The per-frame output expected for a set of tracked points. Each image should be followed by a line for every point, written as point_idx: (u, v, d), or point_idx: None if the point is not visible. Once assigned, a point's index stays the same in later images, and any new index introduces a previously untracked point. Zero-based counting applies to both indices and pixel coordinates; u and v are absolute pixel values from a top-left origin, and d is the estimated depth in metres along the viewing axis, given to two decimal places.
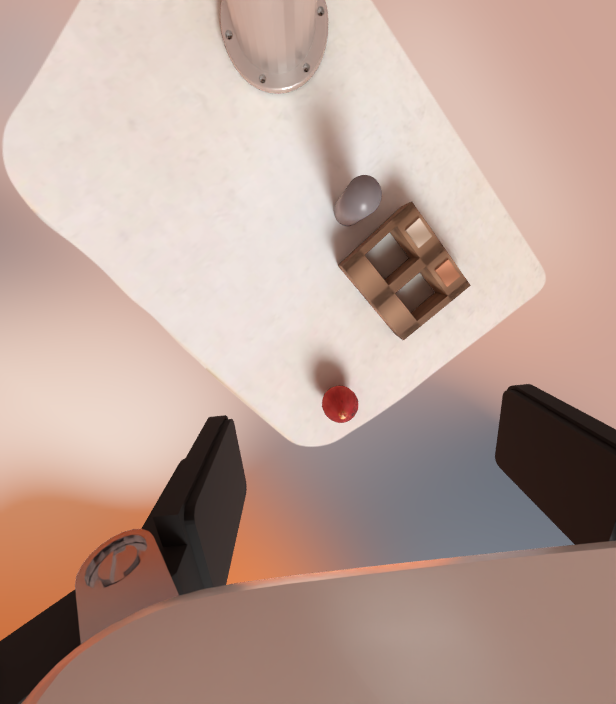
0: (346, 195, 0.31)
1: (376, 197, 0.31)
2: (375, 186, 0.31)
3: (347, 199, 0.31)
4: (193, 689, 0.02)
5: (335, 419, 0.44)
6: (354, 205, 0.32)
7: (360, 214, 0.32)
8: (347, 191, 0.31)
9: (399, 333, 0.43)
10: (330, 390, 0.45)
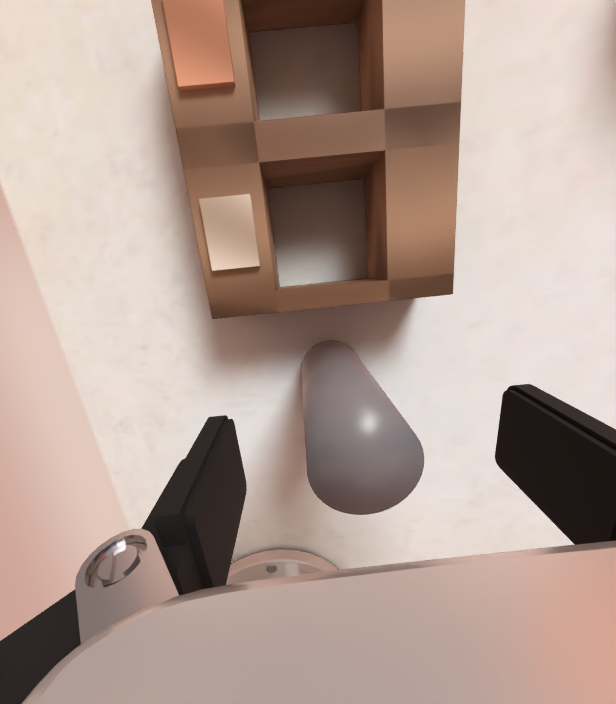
0: (406, 493, 0.10)
1: (335, 442, 0.09)
2: (320, 468, 0.10)
3: (410, 484, 0.10)
4: (193, 689, 0.02)
5: None
6: (406, 461, 0.10)
7: (407, 431, 0.09)
8: (397, 500, 0.10)
9: None
10: None
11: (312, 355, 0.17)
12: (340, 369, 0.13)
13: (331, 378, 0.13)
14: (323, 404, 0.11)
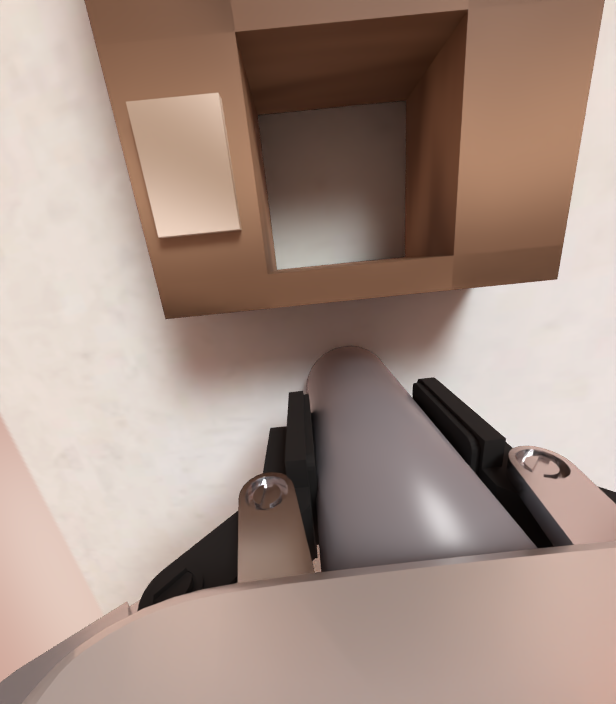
0: None
1: None
2: None
3: None
4: (193, 690, 0.02)
5: None
6: None
7: None
8: None
9: None
10: None
11: (324, 369, 0.12)
12: (375, 404, 0.08)
13: (363, 424, 0.07)
14: (356, 491, 0.06)
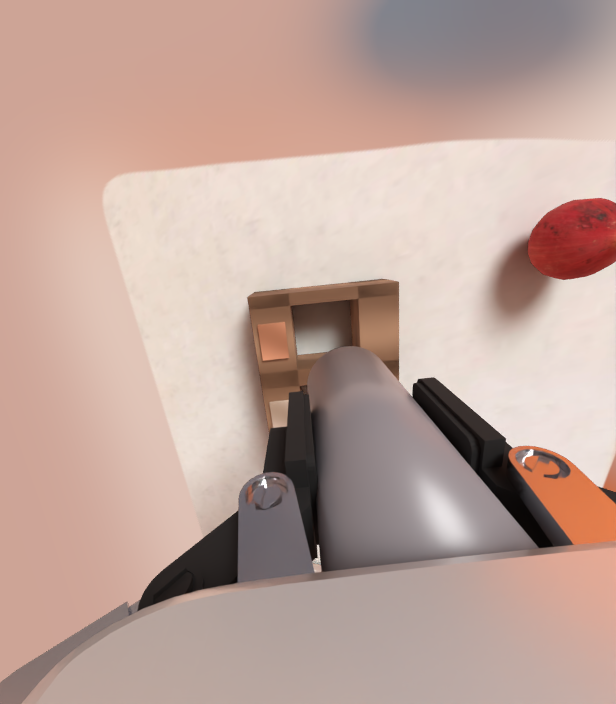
0: None
1: None
2: None
3: None
4: (192, 690, 0.02)
5: None
6: None
7: None
8: None
9: (396, 298, 0.23)
10: (563, 279, 0.23)
11: (324, 369, 0.12)
12: (376, 405, 0.08)
13: (363, 424, 0.07)
14: (357, 492, 0.06)
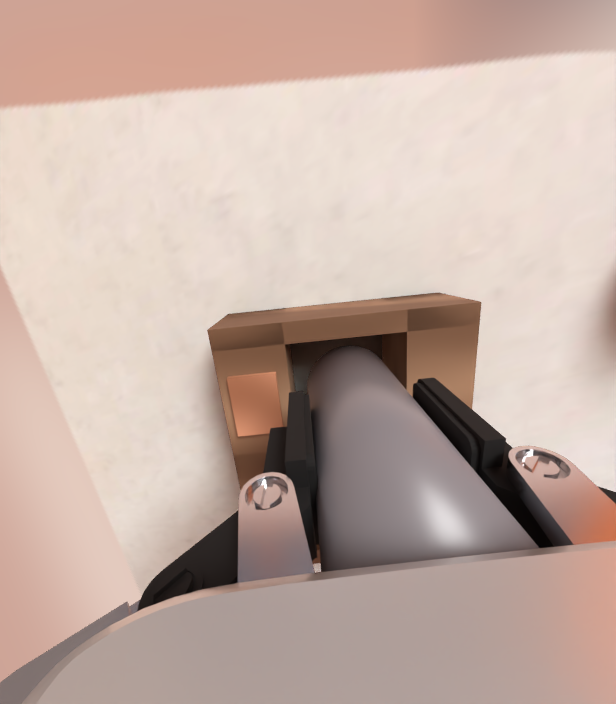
0: None
1: None
2: None
3: None
4: (193, 689, 0.02)
5: None
6: None
7: None
8: None
9: (473, 330, 0.13)
10: None
11: (324, 368, 0.12)
12: (376, 404, 0.08)
13: (363, 423, 0.07)
14: (356, 492, 0.06)
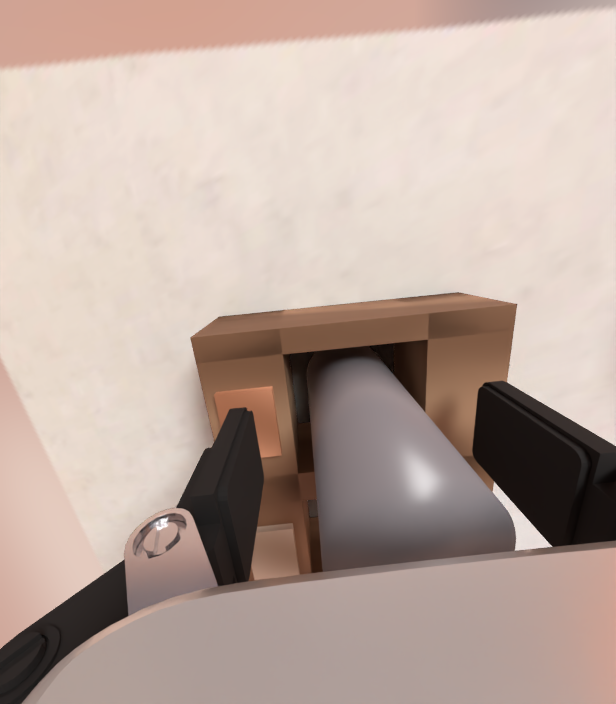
0: None
1: (371, 522, 0.06)
2: (343, 560, 0.06)
3: None
4: (193, 689, 0.02)
5: None
6: (486, 549, 0.06)
7: (493, 504, 0.06)
8: None
9: (506, 337, 0.11)
10: None
11: (321, 357, 0.13)
12: (364, 383, 0.09)
13: (353, 397, 0.09)
14: (345, 445, 0.07)
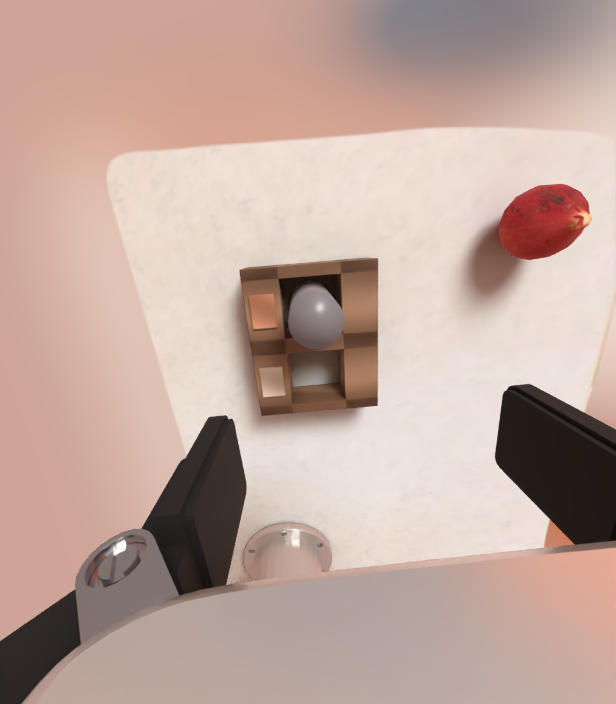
0: (336, 338, 0.21)
1: (301, 308, 0.20)
2: (294, 322, 0.20)
3: (338, 333, 0.20)
4: (193, 689, 0.02)
5: None
6: (335, 320, 0.20)
7: (335, 303, 0.20)
8: (332, 341, 0.21)
9: (375, 273, 0.25)
10: (528, 259, 0.25)
11: (297, 287, 0.28)
12: (310, 287, 0.24)
13: (304, 289, 0.23)
14: (298, 297, 0.21)
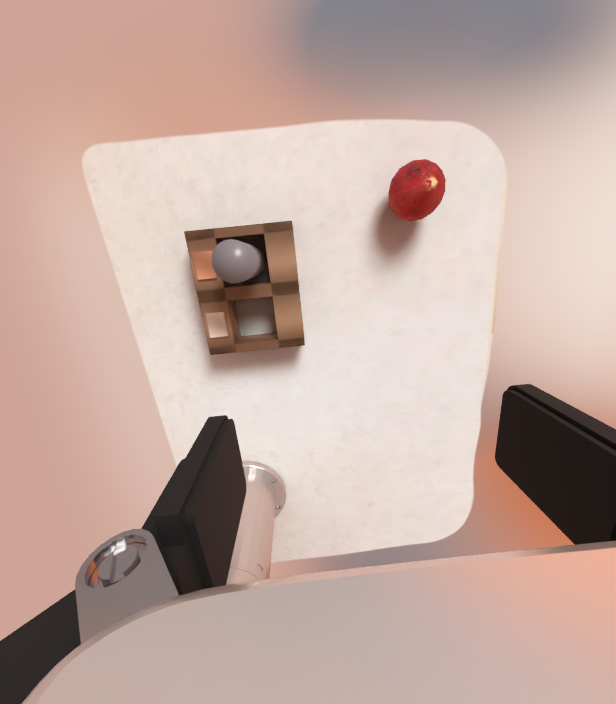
0: (249, 274, 0.28)
1: (220, 250, 0.27)
2: (216, 261, 0.27)
3: (250, 270, 0.27)
4: (193, 689, 0.02)
5: (442, 181, 0.29)
6: (247, 259, 0.27)
7: (245, 246, 0.27)
8: (246, 276, 0.28)
9: (291, 233, 0.32)
10: (411, 220, 0.32)
11: None
12: None
13: None
14: None
